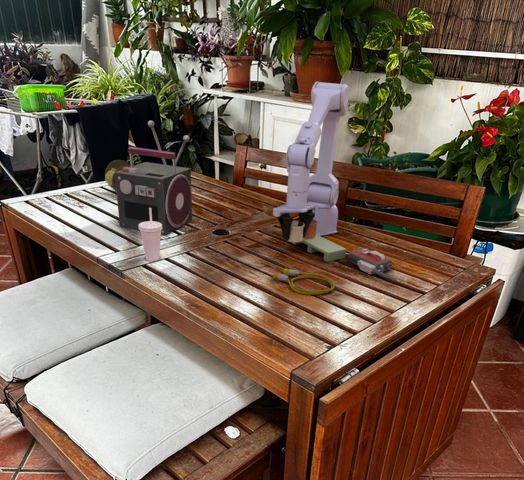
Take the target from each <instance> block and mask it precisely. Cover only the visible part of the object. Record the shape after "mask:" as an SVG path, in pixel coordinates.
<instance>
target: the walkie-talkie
mask: <svg viewBox="0 0 524 480" xmlns="http://www.w3.org/2000/svg"><path fill="white" fill-rule="evenodd" d="M344 259H347V260H348V262H349V263H351V264H353V265H355V266H357V267H358V269H359V270H360V271H362V272H365V273H367V274H368V275H373V274H374V275H377V276H380V277H382V278H384V279H388V280H391V281H392V282H397V278H396V277H393V276H391V275H388V274H387V273H384V272H387V271H388V272H389V271H391V270H392V268H393V260H391V259H389V258H387V257H386V255H385V254H384V253H380V252H379V251H378V250H369V249H368V248H362V247H359V248H354V249H352V250H349V253H346V254H345V258H344Z"/></svg>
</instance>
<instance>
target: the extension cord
mask: <svg viewBox="0 0 524 480" xmlns="http://www.w3.org/2000/svg"><path fill="white" fill-rule="evenodd" d="M295 276H296V277H295ZM289 277H293V278H291V279H289ZM308 278H311V279H318V280H321V281H325V282H327V283H329V285H330V288H328V289H323V290H312V289H311V290H310V289H304V288H299V287H297V286H296V285H295V284H294V282H295V281H298V280H301V279H308ZM272 279H274V280H277V281H280V282H287V283H288V285H289V287H290V288H291V290H293V291H294V292H296V293H298V294H302V295H309V296H311V295H313V296H314V295H315V296H317V295H323V294H328V293H330V292H331V291H333V290H334V289H335V286H336V285H335V281H334V280H333V279H332V278H331V277H328V276H326V275H323V274H320V273H319V274H318V273H313V272H312V273H310V272H300V270H296V269H292V268H291V269H290V268H286V267H285V268H283V272H282V273H280V272H279V273H278V272H273V274H272Z"/></svg>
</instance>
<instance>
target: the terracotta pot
mask: <svg viewBox="0 0 524 480" xmlns="http://www.w3.org/2000/svg"><path fill="white" fill-rule="evenodd" d="M317 224H318V221H317V220H314V219H313V220H312V221H311V223H310V225H309V227H308V229H307V232H306V235H305V237H303V238H306V239H312V238H315V237H316V228H317Z"/></svg>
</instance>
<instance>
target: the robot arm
mask: <svg viewBox="0 0 524 480" xmlns="http://www.w3.org/2000/svg"><path fill="white" fill-rule="evenodd" d="M349 98H350V88H349V86H348V84H347V83H331V82H321V81H315V82H314V84H313V85H312V87H311V92H310V102H311V106H312V107H311V110H310V113H309V117H308V120H307V121H305V122H304V123H302V124H301V127H300V129H299V131H298V134H297V135H296V138H295V140H294V143H292V144H290V145H289V146H288V147H287V150H286V155H285V163H286V172H287V174H288V175H287V190H286V201H285V204H283V205H280V206H278V207H274V208H273V209H272V216H274V217H275V218H276V219H277V221H278V223H279V226H280V229H281V234H282V235H281V236H282V239H283V240H285V241H287V240H289V237H290V229H291V225H292V222H293V221H294V217H291V215H294V214H298V221H299V222H302V223H304V224H305V227H304V229H303V237H305V235H306V232H307V229H308V227H309V225H310V223H311V221H312V220H313V219H314V220H317V221H318V224H317V228H316V235H318V236H321V237H322V236H327V235H332V234H333V235H334V234H337V233H339V231H338V230H337V228H338V227H337V226H338V219H339V210H338V207H337V206H336V204H337V202H338V199H339V193H340V191H339V186H340V183H339V182H340V181H339V180H338V179H337V178H336V177H335V175H333V173H332V172H333V166H334V165H333V164H334V159H335V151H336V144H337V138H338V130H339V125H340V120H341V117H344V116H346V114H347V112H348V105H349ZM321 126H322V127H321ZM319 140H320V141H319ZM318 142H320V143H319V149H318V156H317V164H316V170H315V171H316V172H315V173H314V174H312V175H310V173H311V168H312V167H313V165H314V161H315V156H316V151H317V149H316V147H317V145H318Z"/></svg>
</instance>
